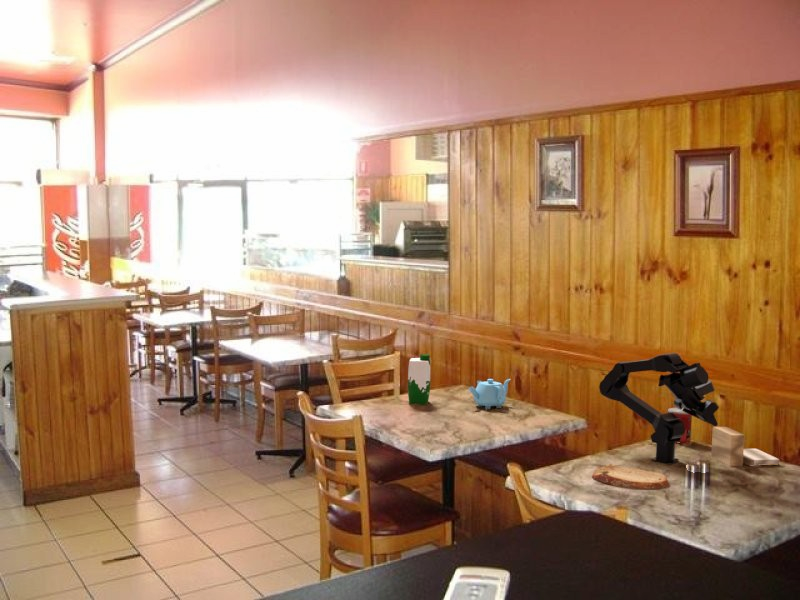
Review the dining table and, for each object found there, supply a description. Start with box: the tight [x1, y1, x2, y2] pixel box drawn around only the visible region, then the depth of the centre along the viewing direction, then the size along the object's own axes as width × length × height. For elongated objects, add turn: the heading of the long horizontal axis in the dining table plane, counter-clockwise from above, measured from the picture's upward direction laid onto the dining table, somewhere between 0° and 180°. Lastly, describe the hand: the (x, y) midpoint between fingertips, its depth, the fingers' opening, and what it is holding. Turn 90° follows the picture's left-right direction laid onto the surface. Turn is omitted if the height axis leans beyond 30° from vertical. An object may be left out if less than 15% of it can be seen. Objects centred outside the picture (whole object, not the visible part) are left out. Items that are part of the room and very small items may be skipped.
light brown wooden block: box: [710, 426, 745, 467], centre depth 277 cm, size 4×11×10 cm, turn 10°
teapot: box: [468, 378, 511, 410], centre depth 351 cm, size 15×14×11 cm
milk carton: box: [407, 353, 431, 405], centre depth 355 cm, size 9×9×20 cm
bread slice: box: [591, 464, 670, 489], centre depth 254 cm, size 18×18×4 cm
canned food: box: [667, 407, 693, 444], centre depth 302 cm, size 8×8×11 cm
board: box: [743, 448, 780, 466], centre depth 279 cm, size 10×13×2 cm
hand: (711, 423), depth 275 cm, fingers open, 6 cm apart
